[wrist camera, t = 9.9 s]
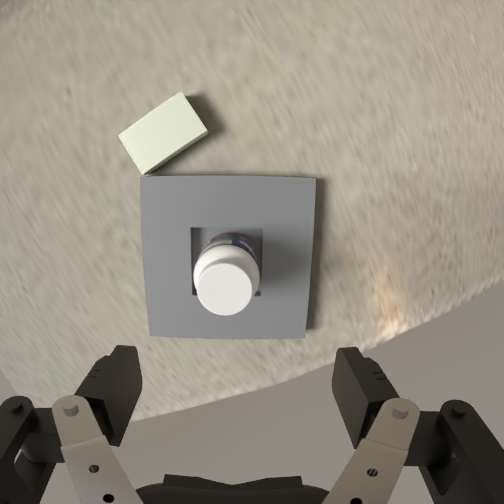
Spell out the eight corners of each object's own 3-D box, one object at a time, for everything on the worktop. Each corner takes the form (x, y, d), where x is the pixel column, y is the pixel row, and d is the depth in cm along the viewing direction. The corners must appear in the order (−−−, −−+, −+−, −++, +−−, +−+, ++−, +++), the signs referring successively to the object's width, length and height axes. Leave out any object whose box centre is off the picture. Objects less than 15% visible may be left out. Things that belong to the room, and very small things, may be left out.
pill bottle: (263, 273, 32) (272, 311, 23) (214, 291, 32) (205, 333, 23) (244, 223, 31) (246, 243, 22) (193, 242, 31) (176, 270, 22)
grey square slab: (311, 178, 30) (316, 178, 29) (301, 330, 34) (304, 338, 32) (145, 176, 30) (140, 176, 28) (153, 328, 33) (150, 335, 32)
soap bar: (185, 97, 28) (180, 91, 26) (209, 133, 29) (207, 130, 27) (126, 138, 29) (118, 135, 27) (149, 174, 30) (142, 174, 28)
